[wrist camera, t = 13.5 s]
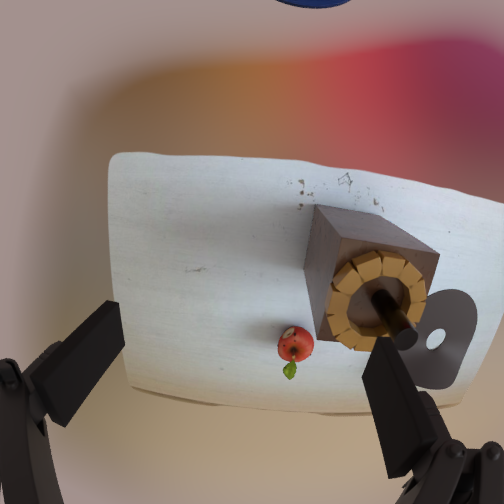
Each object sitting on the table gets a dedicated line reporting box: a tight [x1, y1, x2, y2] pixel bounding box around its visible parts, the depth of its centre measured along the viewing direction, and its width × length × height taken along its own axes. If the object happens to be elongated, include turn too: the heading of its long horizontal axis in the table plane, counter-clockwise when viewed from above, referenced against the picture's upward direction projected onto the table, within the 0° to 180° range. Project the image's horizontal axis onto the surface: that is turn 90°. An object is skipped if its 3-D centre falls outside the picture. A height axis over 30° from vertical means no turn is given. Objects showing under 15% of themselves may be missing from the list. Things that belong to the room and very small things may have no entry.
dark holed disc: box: [398, 290, 477, 390], centre depth 49 cm, size 25×20×10 cm
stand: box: [304, 204, 440, 342], centre depth 39 cm, size 12×12×22 cm
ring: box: [324, 250, 427, 352], centre depth 28 cm, size 11×11×2 cm
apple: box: [278, 326, 314, 380], centre depth 52 cm, size 8×7×10 cm
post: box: [371, 289, 418, 351], centre depth 25 cm, size 2×2×8 cm
